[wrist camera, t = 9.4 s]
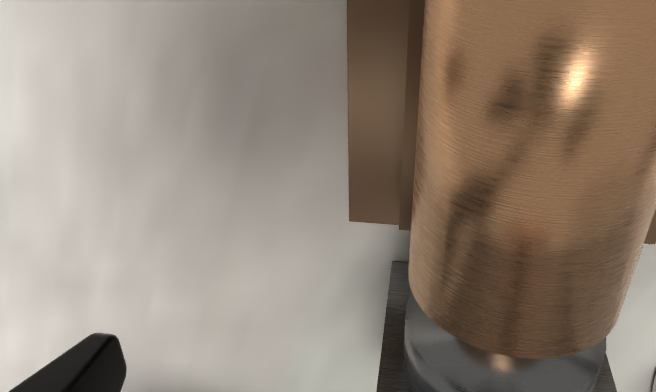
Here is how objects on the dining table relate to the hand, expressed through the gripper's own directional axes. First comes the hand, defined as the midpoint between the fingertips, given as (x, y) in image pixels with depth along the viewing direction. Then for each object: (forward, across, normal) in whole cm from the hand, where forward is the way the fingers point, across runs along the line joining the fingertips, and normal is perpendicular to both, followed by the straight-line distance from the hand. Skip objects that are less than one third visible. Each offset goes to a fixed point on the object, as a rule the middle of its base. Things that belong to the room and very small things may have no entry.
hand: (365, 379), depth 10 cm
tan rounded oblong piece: (+9, -3, -3) cm, 10 cm away
